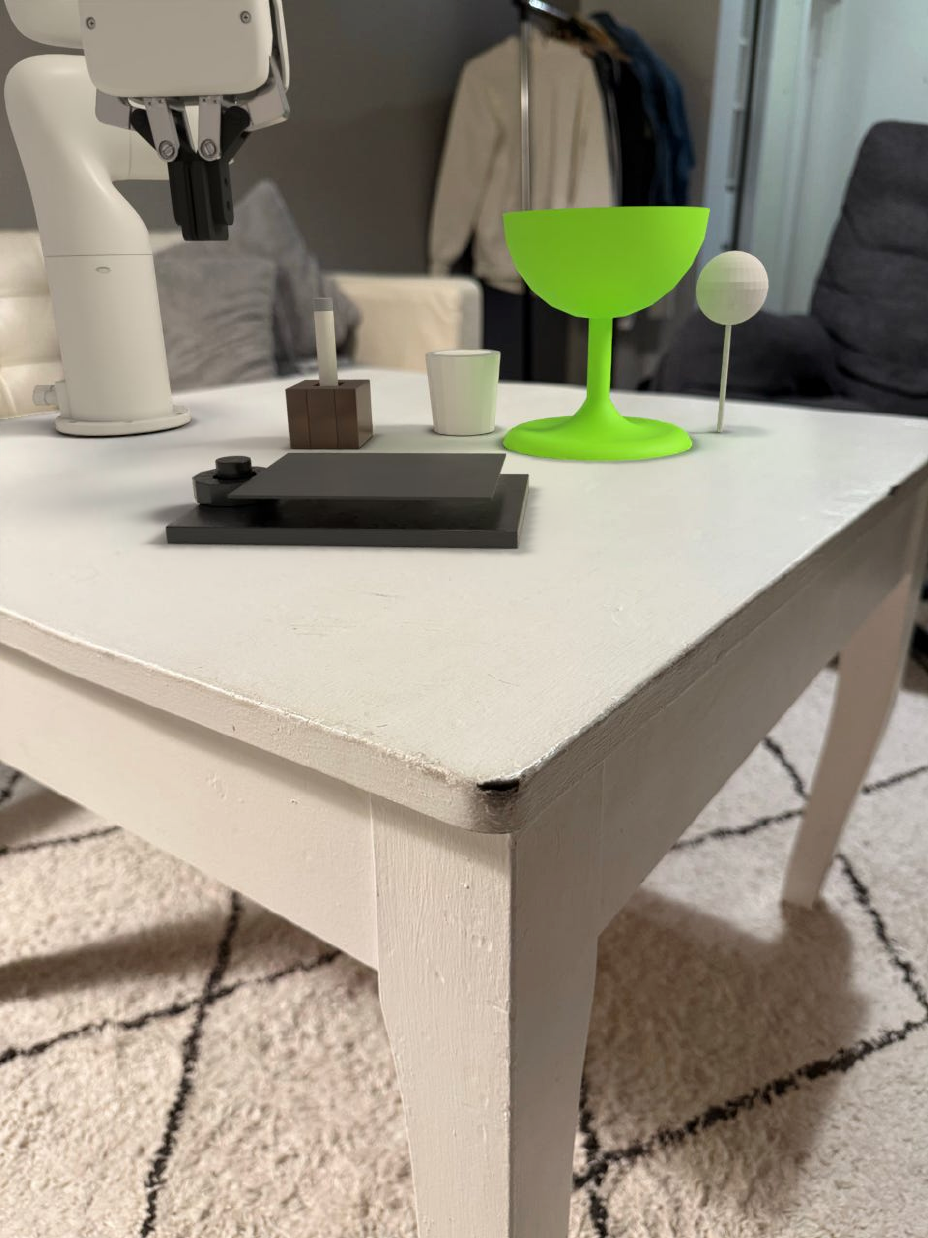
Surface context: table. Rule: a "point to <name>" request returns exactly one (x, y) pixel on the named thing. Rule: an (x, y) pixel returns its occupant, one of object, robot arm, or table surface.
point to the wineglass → (602, 312)
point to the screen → (377, 477)
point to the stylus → (325, 341)
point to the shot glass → (463, 390)
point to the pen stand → (329, 414)
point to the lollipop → (731, 298)
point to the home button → (233, 467)
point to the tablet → (351, 519)
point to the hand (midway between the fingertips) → (206, 239)
